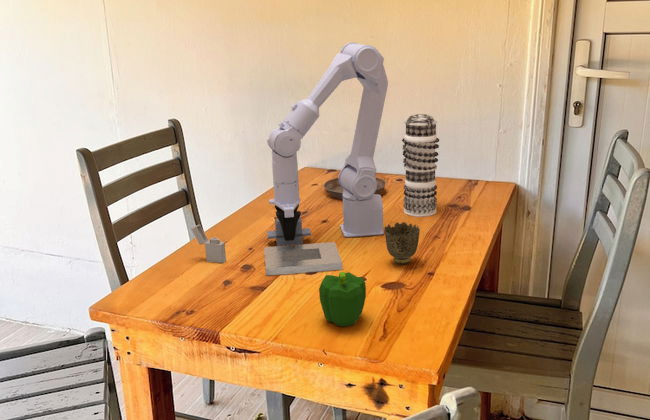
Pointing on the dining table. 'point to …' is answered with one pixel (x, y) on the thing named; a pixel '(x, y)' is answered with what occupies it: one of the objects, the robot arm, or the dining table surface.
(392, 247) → the cup
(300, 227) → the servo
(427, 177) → the decorative candle
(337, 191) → the plant saucer
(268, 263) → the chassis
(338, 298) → the bell pepper
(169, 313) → the dining table surface
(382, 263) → the dining table surface
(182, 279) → the dining table surface
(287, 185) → the robot arm
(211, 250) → the lighter
